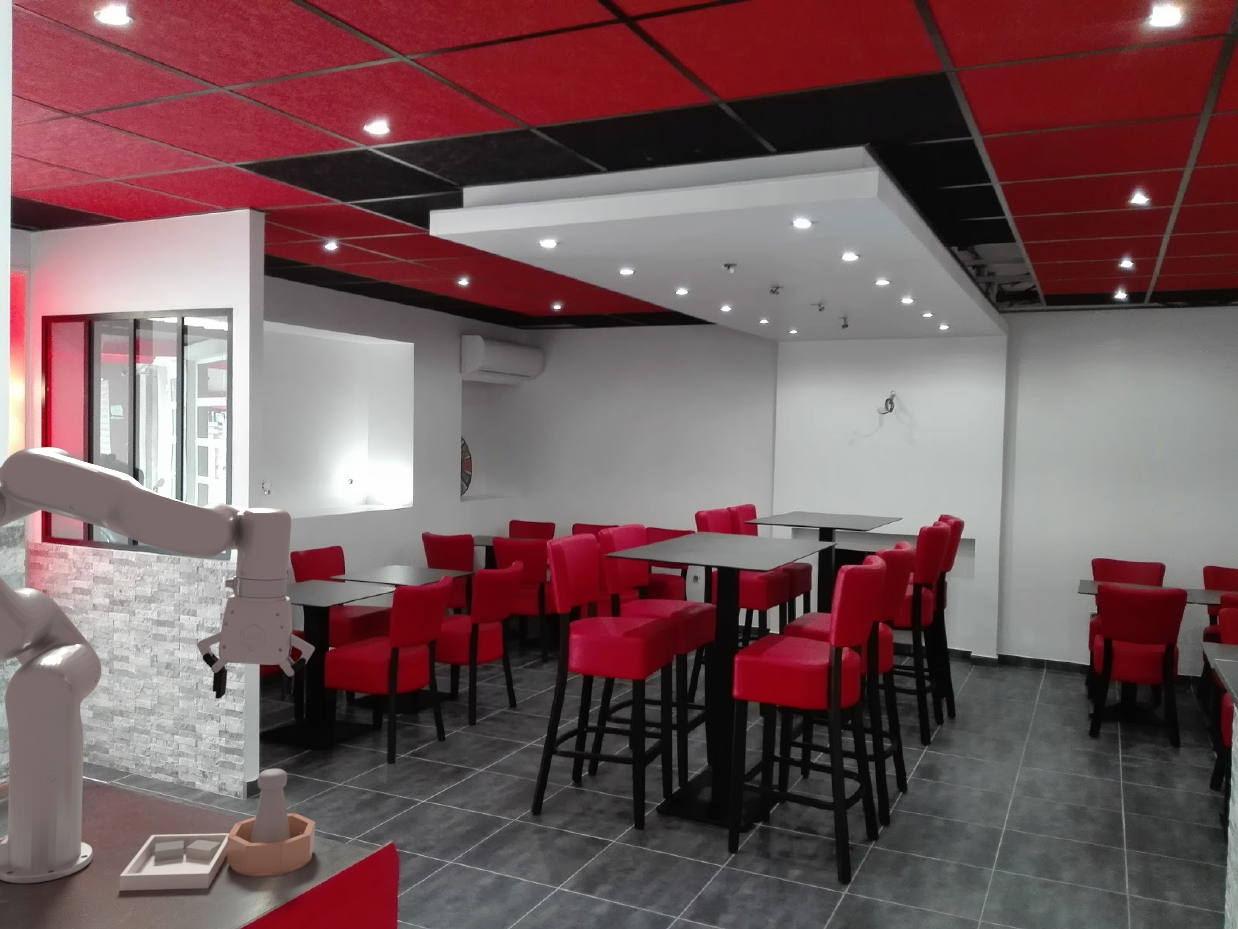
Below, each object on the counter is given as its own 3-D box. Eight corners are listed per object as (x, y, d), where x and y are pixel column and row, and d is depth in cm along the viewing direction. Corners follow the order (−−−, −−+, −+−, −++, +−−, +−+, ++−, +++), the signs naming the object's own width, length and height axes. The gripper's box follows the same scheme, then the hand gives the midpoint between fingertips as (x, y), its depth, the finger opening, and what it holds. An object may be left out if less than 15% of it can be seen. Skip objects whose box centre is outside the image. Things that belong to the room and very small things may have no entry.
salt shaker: (276, 865, 147) (279, 779, 146) (242, 860, 148) (244, 775, 147) (296, 849, 153) (299, 767, 152) (263, 844, 154) (265, 763, 153)
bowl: (220, 878, 143) (221, 846, 143) (239, 844, 155) (240, 814, 155) (305, 876, 145) (306, 844, 145) (317, 842, 157) (318, 813, 157)
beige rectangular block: (185, 857, 150) (186, 847, 150) (197, 849, 153) (198, 839, 152) (209, 861, 149) (209, 850, 149) (220, 852, 152) (221, 842, 152)
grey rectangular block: (154, 862, 148) (154, 851, 148) (155, 853, 150) (155, 843, 150) (183, 858, 149) (183, 848, 149) (183, 850, 152) (183, 840, 152)
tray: (119, 891, 139) (119, 875, 138) (151, 848, 152) (151, 835, 152) (208, 888, 140) (208, 873, 140) (231, 847, 154) (232, 833, 154)
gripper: (195, 588, 146) (186, 702, 146) (313, 595, 148) (305, 707, 148) (209, 581, 153) (201, 689, 154) (322, 587, 155) (314, 694, 156)
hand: (252, 698), depth 151 cm, fingers open, 9 cm apart
